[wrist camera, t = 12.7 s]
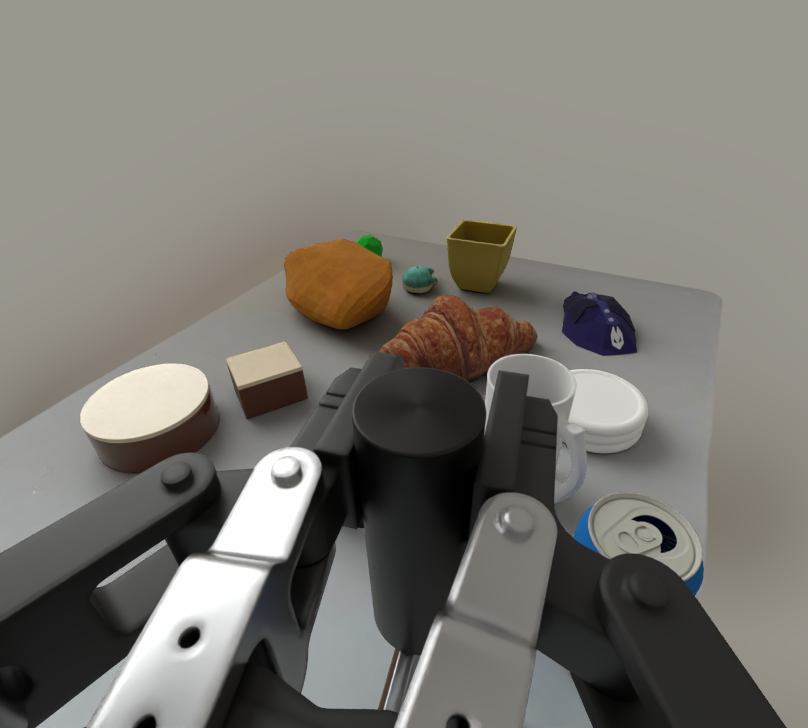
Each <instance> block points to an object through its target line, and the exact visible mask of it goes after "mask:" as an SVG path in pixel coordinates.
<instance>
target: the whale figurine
mask: <svg viewBox="0 0 808 728" xmlns="http://www.w3.org/2000/svg"><path fill="white" fill-rule="evenodd" d="M433 273H434V270H433V269H431V268H428V267H412V268H410V269H408V270H407V271H406V272H405V274H404V275H403V287H404V288H405V290H407V291H409V292H413V293H425V292H428V291H429V290H430V289H431V287H432V285H433V284H436V283H437V281H438V280H437V278H436V277H432V276H431V275H432V274H433Z"/></svg>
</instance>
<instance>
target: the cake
mask: <svg viewBox="0 0 808 728" xmlns="http://www.w3.org/2000/svg"><path fill="white" fill-rule="evenodd" d="M218 421H219V413H218V409H217V406H216V403H215V400H214V397H213V394H212V391H211V388H210V385H209V382H208V380H207V378H206V376H205V375H204V373H203V372H201V371H200V370H198V369H197V368H195V367H192V366H188V365H184V364H160V365H153V366H148V367H144V368H141V369H137V370H134V371H132V372H129V373H126V374H124V375H122V376H120V377H118V378H116V379H114V380H112V381H110V382H109V383H107V384H105V385H104V386H103V387H101V388H100V389H99V390H97V391H96V392H95V393H94V394H93V395H92V396H91V397H90V398H89V399H88V400H87V402H86V403H85V405H84V406H83V408H82V411H81V414H80V423H81V426H82V428H83V430H84V431H85V433H86V435H87V437H88V438H89V440H90V442H91V444H92V445H93V447H94V449H95V450H96V452H97V454H98V456H99V457H100V459H101V460H102V462H103V463H104V464H105V465H107V466H108V467H110V468H112V469H114V470H117V471H121V472H129V473H139V472H144V471H146V470H147V469H149V468H151V467H153V466H154V465H156V464H158V463H160V462H161V461H163V460H165V459H167V458H169V457H172V456H174V455H178V454H183V453H195V452H196V451H197V450H199V449H200V448H201V447H202V446H203V445H204V444H205V443H206V442H207V441H208V440H209V439H210V438H211V436H212V435H213V434H214V432H215V430H216V428H217V425H218Z"/></svg>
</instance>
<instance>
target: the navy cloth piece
mask: <svg viewBox="0 0 808 728" xmlns="http://www.w3.org/2000/svg"><path fill="white" fill-rule="evenodd" d="M563 307H564V312H565V315H564V322H563V329H562V333H564V334H565V335H566V336H567V337H568V338H569V339H570V340H571V341H572V342H573V343H574V344H576V345H577V346H580V347H582V348H585V349H587V350H590V351H593V352H595V353H598V354H601V355H619V354H628V353H635V352H637V349H636V338H635V329H634V327H633V324H632V321H631V319H630V316H629V314H628V313H627V312H626V311H625V310H624V309H623V308H622V306H621V305H620V304H619V303H618V302H617V301H616V300H615V299H614V298H613V297H610V296H604V295H599V294H597V295H596V293H588V294H585V295H583V294H579V293H577V292H575V291H574V292H573V293H571V296H569V297H567V298H566V299H565V300H564V305H563Z"/></svg>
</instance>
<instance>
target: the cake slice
mask: <svg viewBox="0 0 808 728" xmlns="http://www.w3.org/2000/svg"><path fill="white" fill-rule="evenodd" d="M226 362H227V365H228V369H229V372H230V375H231V378H232V382H233V385H234V388H235V391H236V393H237V396H238V398H239V401H240V403H241V406H242V408H243V410H244V413H245V415H246V418H247V419H248V418H251V417H254V416H257V415H260V414H263V413H266V412H269V411H272V410H275V409H277V408H280V407H283V406H286V405H289V404H292V403H295V402H298V401H301V400H304V399H307V398H308V396H307V391H306V386H305V380H304V375H303V370H302V366H301V365H300V363H299V361H298V360H297V358H296V357H295V355H294V354H293V352H292V351H291V349H290V348H289V346H288V344H287V343H286V341H285V342H281V343H278V344H275V345H271V346H268V347H264V348H261V349H257V350H254V351H250V352H247V353H244V354H240V355H237V356H233V357H230V358H226Z"/></svg>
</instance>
